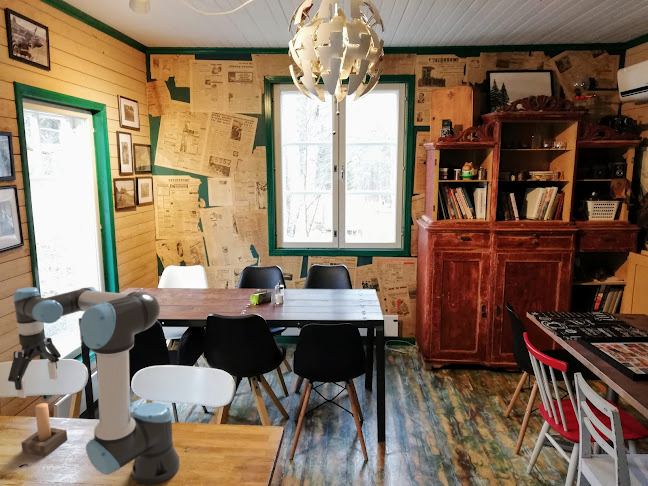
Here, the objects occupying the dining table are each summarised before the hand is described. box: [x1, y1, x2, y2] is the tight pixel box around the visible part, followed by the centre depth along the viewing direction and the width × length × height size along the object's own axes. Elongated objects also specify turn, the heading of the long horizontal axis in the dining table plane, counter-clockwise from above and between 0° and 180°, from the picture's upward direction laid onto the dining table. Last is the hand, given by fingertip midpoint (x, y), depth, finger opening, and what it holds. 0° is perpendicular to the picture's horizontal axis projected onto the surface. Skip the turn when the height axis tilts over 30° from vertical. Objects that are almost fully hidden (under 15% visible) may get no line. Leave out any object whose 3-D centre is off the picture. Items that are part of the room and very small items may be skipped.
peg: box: [34, 402, 52, 442], centre depth 167 cm, size 4×4×16 cm
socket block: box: [20, 427, 68, 458], centre depth 168 cm, size 10×10×4 cm
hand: (38, 387), depth 163 cm, fingers open, 13 cm apart
